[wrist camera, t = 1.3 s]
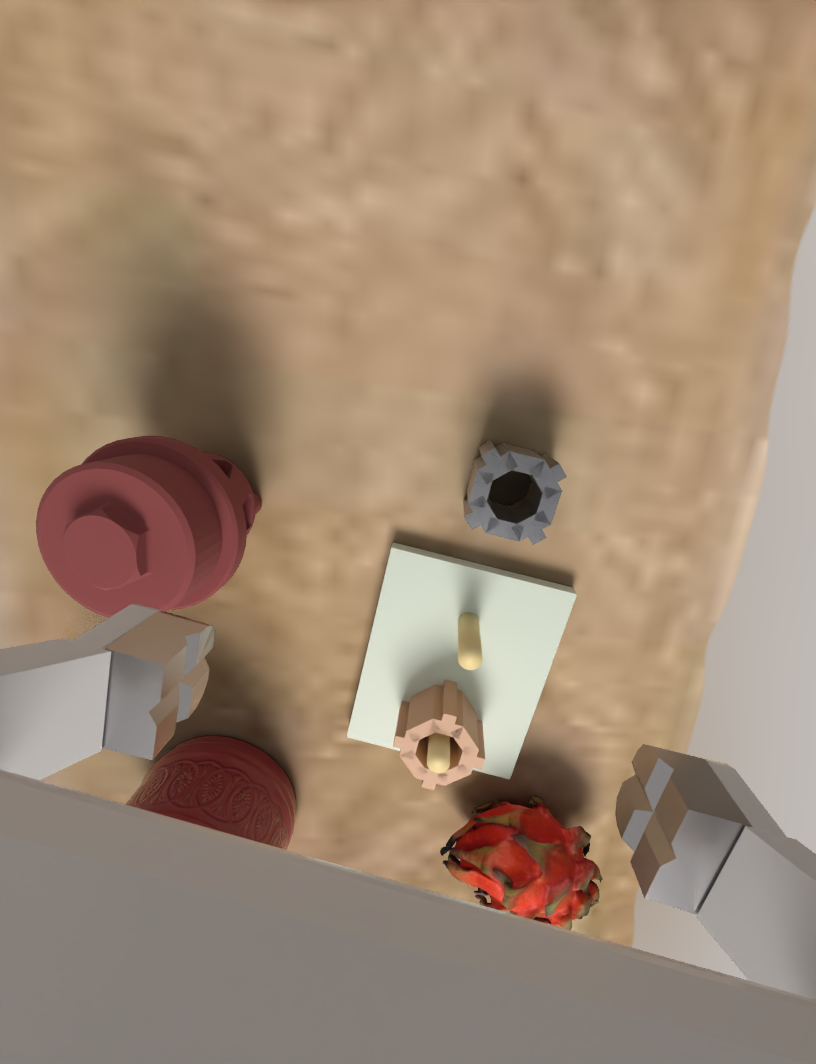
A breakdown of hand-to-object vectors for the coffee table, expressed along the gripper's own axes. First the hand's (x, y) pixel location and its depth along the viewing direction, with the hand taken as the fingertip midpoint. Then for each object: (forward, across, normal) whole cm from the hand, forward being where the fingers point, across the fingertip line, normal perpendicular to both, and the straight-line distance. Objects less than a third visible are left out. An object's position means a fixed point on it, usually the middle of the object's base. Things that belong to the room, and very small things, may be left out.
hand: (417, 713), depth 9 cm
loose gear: (+26, -4, -1) cm, 26 cm away
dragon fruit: (+27, -13, +26) cm, 39 cm away
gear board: (+26, -4, +13) cm, 29 cm away
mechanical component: (+26, +16, +5) cm, 31 cm away
